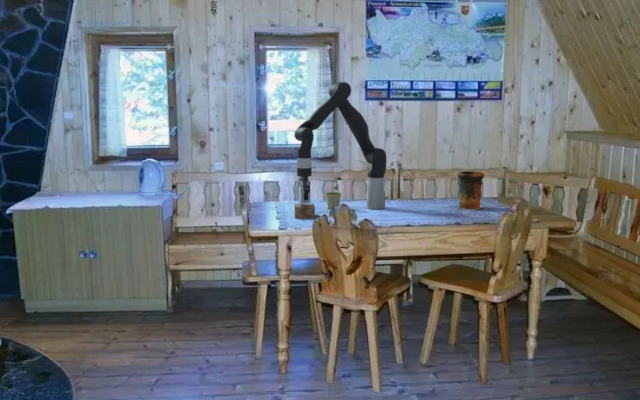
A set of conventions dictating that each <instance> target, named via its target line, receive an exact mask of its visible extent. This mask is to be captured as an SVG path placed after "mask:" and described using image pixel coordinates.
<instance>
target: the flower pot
mask: <svg viewBox="0 0 640 400" xmlns="http://www.w3.org/2000/svg"><path fill="white" fill-rule="evenodd" d="M342 194H343V192H336V191H333V192H331V191H329V192H325V193H324V195H325V198H326V204H327V210H330V209H332V210H334V209H333V208H335V207H337V206H339V207H340V203H341V197H342Z"/></svg>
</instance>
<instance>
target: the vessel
mask: <svg viewBox="0 0 640 400" xmlns="http://www.w3.org/2000/svg"><path fill="white" fill-rule="evenodd" d="M457 177H458V180H459V206H457V207H458V209H461V210H469V209H472V210H471V211H474V210H480V209H482V207H481V197H482V184H483V179H484V177H485V173H484V172H482V171H475V170H472V171H468V170H467V171H466V170H465V171H459V172H458V173H457ZM469 211H470V210H469Z"/></svg>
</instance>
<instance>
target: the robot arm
mask: <svg viewBox="0 0 640 400" xmlns="http://www.w3.org/2000/svg"><path fill="white" fill-rule="evenodd" d="M351 94H352V88H351V85H350V84H349V83H348V82H347V81H339V82H333V83H331V84H330V85H329V86H328V95H329V97H330V98H329V99H327V101H325V102H324V103H323V104H321V105H320V106H319V107H318V108H317V109H315V110H314V111H313V112H312V114H311V115H310V116H309V117H308V118H307V120H305V121H304V122H302V123H301V124H300V125H299V126H298V127H297V128H296V130H295V132H294V138H295V139H296V140H297V141H299V142H301V143H300V146H298V147H297V151H296V155H297V158H296V176H297V177H299V178H298V187H302V188H303V189H304V200H305V201H307V200H308V193H309V192H310V193H311V181H310V180H309V177H312V176H313V175H312V174H313V173H312V172H313V171H312V170H313V169H312V167H313V166H312V147H313V144H314V143H313V142H314V138H315V137H314V131H315V130H318V129H319V128H320V127H321V126H322V124H323V123H324V122H325V121H326V120H327V118H328V117H329V116H330V115H331V114H332V113H333V112H335V110H336V109H338V110H339V112H340V113H341V115H342V117H343V119H344V121H345V122H346V124H347V126H348V128H349V130H350V132H351V133H352V135H353V137H354V138H355V141H356V143H357V144H358V145H359V147H360V150H361V153H362V155H363V157H364V159H365V161H366V163H368V164H369V165H371V169H370V170H369V171H368V172H367V178H366V179H367V182H366V183H367V184H366V185H367V186H366V187H367V188H366V191H367V193H366V198H367V199H366V200H367V201H366V208H367V209H368V210H369V209H370V210H381V209H386V191H385V174H386V172H387V171H386V170H387V152H386V151H385V150H384V149H383V148H380V147H379V148H378V147H375V146H374V144H373V142H372V140H371V138H370V135H369V134H370V133H369V126H368V124H367V121H366V120H365V118H364V116H363V115H362V114H361V112H359V111H358V110H357V109H356V108H355V107H354V106H353V105H352V104H351V103H350V101H349V100H348V98H349V97H350V96H351ZM306 189H307V190H306Z"/></svg>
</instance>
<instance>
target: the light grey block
mask: <svg viewBox="0 0 640 400" xmlns="http://www.w3.org/2000/svg"><path fill="white" fill-rule="evenodd" d="M297 188H298V204H311V191H310V192H309V193H308V200H307V201H305V200H304V189H303V188H302V187H299V186H298V187H297ZM306 190H307V189H306Z"/></svg>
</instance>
